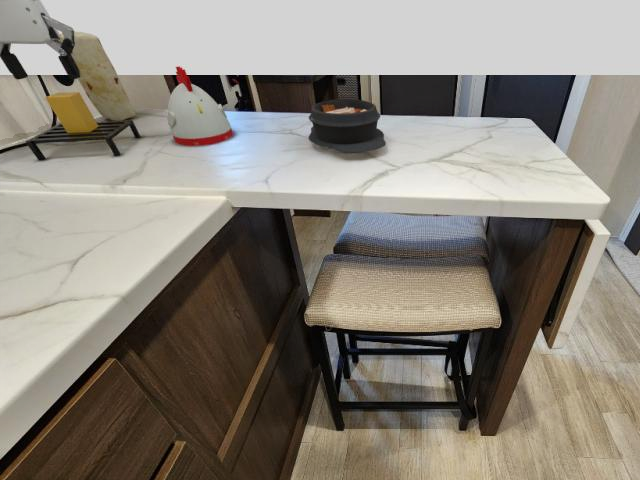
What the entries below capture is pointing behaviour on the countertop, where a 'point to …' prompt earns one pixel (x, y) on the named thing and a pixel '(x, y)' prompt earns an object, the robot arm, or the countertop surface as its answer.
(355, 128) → the casserole
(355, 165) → the countertop surface
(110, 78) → the food model
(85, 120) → the block
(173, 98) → the kitchen timer
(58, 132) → the rack
